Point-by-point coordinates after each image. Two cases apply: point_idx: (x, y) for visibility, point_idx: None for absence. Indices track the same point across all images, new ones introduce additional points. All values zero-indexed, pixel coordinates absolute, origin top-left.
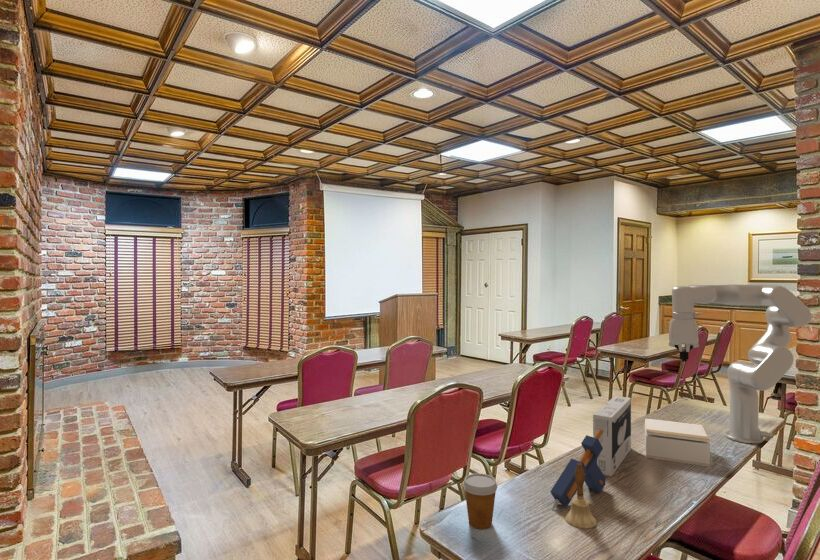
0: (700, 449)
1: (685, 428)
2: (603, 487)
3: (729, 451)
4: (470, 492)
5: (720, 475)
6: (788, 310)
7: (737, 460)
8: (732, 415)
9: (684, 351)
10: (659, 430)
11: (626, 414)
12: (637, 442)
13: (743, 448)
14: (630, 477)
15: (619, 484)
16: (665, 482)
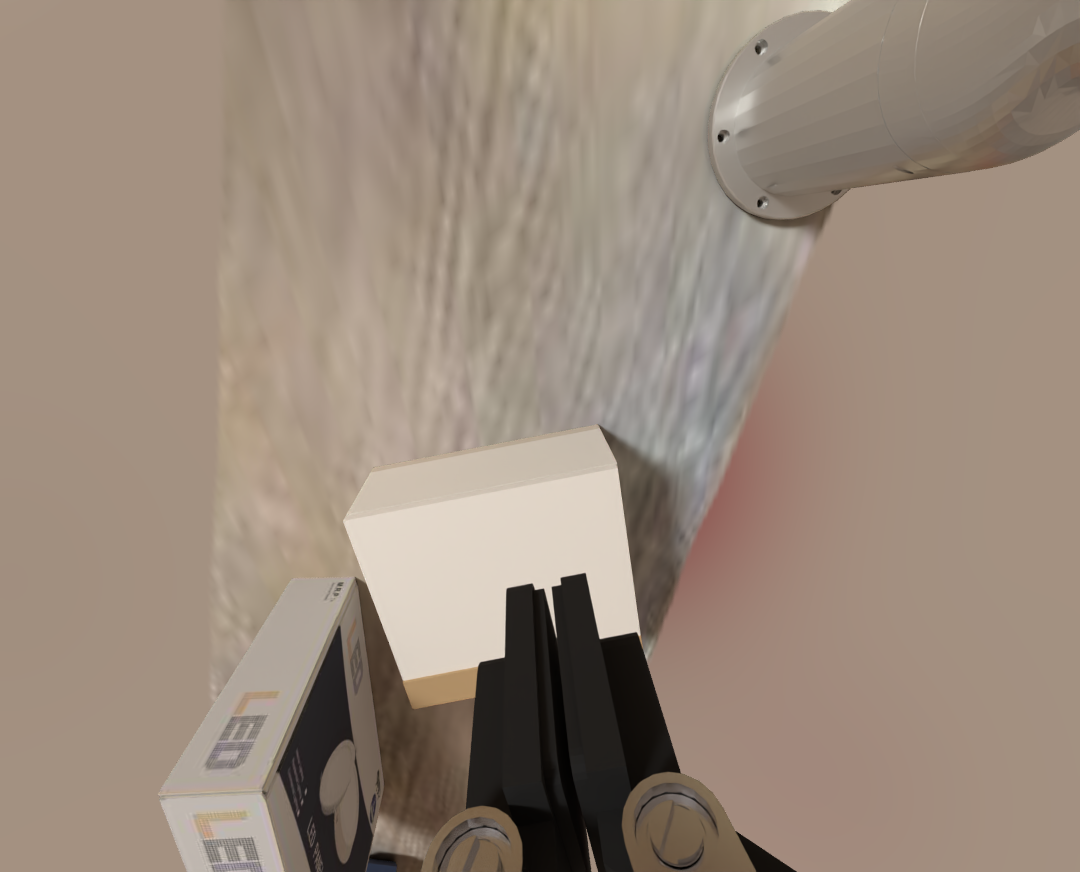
0: None
1: (549, 571)
2: (396, 865)
3: (697, 388)
4: None
5: (648, 632)
6: None
7: (713, 476)
8: (807, 145)
9: (598, 815)
10: (453, 663)
11: (311, 805)
12: (352, 498)
13: (759, 309)
14: (428, 770)
15: (417, 813)
16: None
